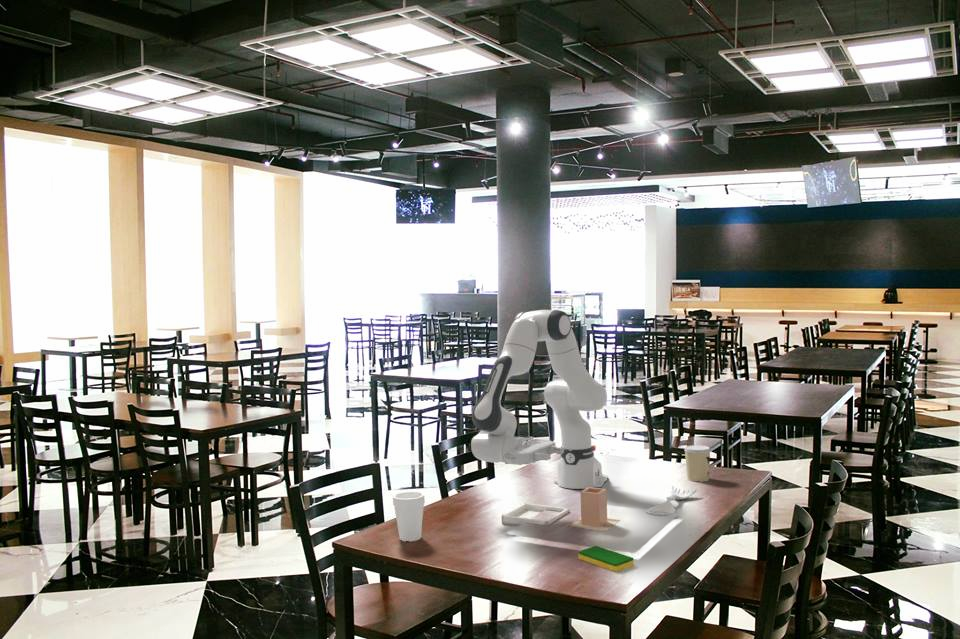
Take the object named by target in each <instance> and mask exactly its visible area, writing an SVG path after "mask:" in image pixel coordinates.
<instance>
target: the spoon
mask: <svg viewBox="0 0 960 639" xmlns="http://www.w3.org/2000/svg"><path fill="white" fill-rule="evenodd" d="M680 491H681V488H679V489H678V487H676V488H674V485H672V486H671V488H670V491H669V494H670V496H667V497H666V501H664V502H662V503H660V504H658V505H654V506H652V507H649V508H647V509H645V513H646V514H648V515H652V516H662V517H663V516H670V515H673V514H675V513H676V511H677V510H676V508H675V507H674V506H673V504H672V503H671V502H672V501H676V500H685V499H688V498H690V497H691V496H693V495H694V494H696V493H697V491H698V490H697V488H695V489H694V490H693V489H691V490H689V489H688V490H687V491H686V490H685V489H683V490H682V491H681V492H680ZM685 491H686V492H685ZM654 511H655V512H654Z"/></svg>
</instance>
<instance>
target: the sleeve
mask: <svg viewBox="0 0 960 639" xmlns="http://www.w3.org/2000/svg"><path fill="white" fill-rule="evenodd" d="M607 496H608V494H607V489H606V488H601V487H593V488H591V487H588V488H585V489H582V490H580V518H581V524H582V525H589V526H596V527H601V526H602V525H603V524H605V523H606V522H607V518H608V499H607V498H608V497H607Z"/></svg>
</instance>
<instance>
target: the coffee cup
mask: <svg viewBox="0 0 960 639" xmlns="http://www.w3.org/2000/svg"><path fill="white" fill-rule="evenodd" d="M684 456H685V457H684V458H685V467H686V477H687V480H688V479H689V480H688V481H690V480H691V481H690V482H694V481H699V483H700V482H701V483H703V481H705V482H707V481H709V478H710V461H711V449H710V447H709V446H706V445H701V444H700V445H696V444H694V445H687V446H685V448H684Z"/></svg>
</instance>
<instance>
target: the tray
mask: <svg viewBox="0 0 960 639" xmlns="http://www.w3.org/2000/svg"><path fill="white" fill-rule="evenodd" d="M546 510H547V511H554V512H559V513H557V514H555V515H553V516H552V517H550V518H549V519H547V520H540V519H536V518H535V519H534V517H536V516H538V515H539V514H541V513H542V512H544V511H546ZM568 513H570V508H569V507H568V508H567V507H560V506H559V507H558V506H551V505H544V504H536V503H527V502H525V503H523V504H520V505H519V506H517V507H516V508H513V509H512V510H509V511H508V512H506V513H504V514H502V515H501V525H508V526H515V527H516V526H517V527H518V526H520V525H522V524H524V523H527V524H528V523H529V524H535V525H541V526H542V525H543V526H549V525H551V524H552V523H553V522H555V521H557V520H559V519H560V518H562V517H563V516H565V515H566V514H568ZM532 518H533V519H532Z"/></svg>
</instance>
